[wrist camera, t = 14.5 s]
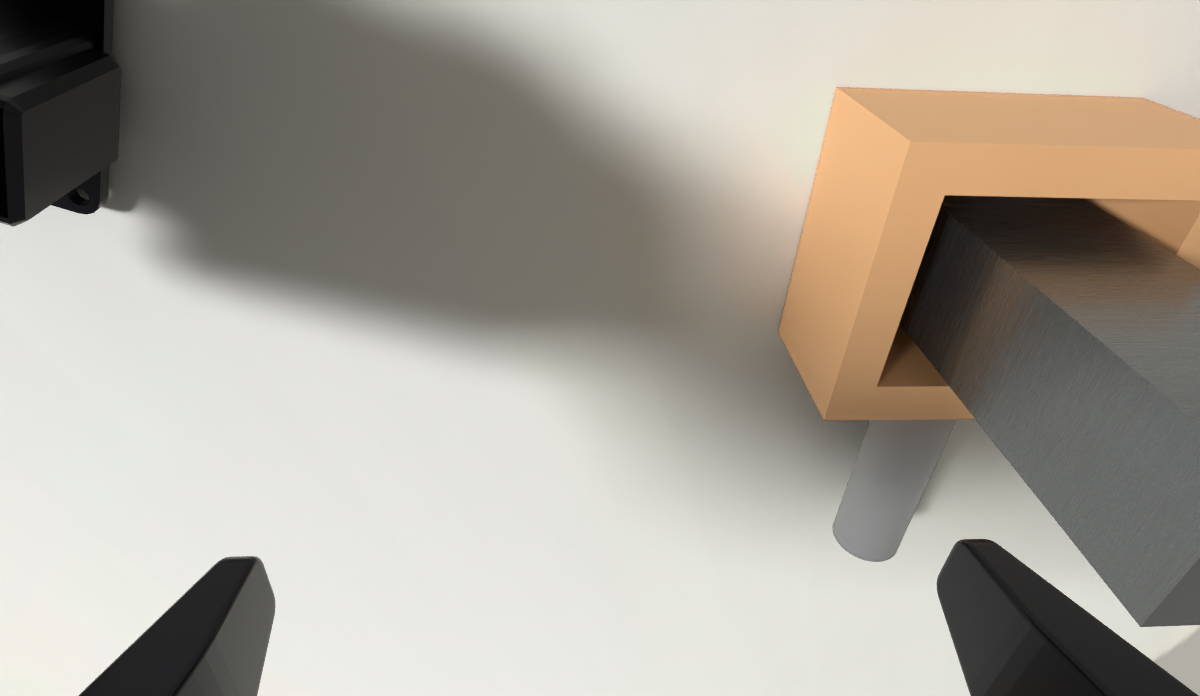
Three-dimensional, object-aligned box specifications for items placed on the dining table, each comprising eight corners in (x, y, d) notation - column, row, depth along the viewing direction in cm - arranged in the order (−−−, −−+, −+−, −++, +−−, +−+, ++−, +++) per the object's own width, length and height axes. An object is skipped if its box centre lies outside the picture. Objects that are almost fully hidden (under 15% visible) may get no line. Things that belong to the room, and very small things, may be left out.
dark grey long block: (858, 272, 22) (1140, 627, 12) (891, 166, 20) (1265, 480, 10) (992, 275, 22) (1376, 618, 12) (1037, 170, 20) (1543, 476, 10)
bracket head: (738, 498, 27) (781, 635, 23) (841, 65, 18) (953, 138, 13) (1142, 490, 29) (1264, 617, 24) (1428, 87, 20) (1724, 160, 15)
